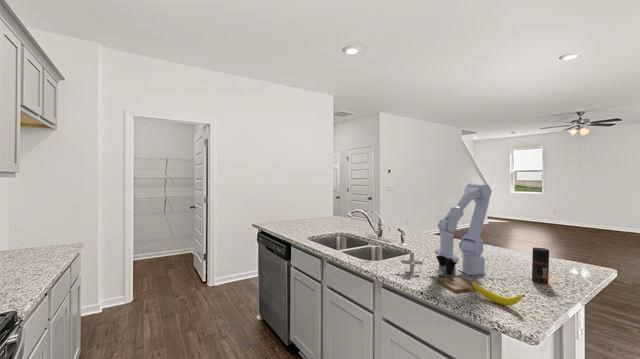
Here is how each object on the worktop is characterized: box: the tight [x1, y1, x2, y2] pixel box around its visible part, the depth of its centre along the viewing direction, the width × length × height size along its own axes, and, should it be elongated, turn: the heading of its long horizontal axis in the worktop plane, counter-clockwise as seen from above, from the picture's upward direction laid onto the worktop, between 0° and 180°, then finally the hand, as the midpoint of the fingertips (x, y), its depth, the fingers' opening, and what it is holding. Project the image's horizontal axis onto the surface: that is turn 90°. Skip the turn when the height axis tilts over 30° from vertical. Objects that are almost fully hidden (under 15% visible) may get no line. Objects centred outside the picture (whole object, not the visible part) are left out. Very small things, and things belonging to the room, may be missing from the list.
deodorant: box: [531, 246, 550, 286], centre depth 129 cm, size 6×6×15 cm
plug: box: [435, 265, 457, 279], centre depth 136 cm, size 9×4×4 cm, turn 102°
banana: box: [470, 281, 526, 307], centre depth 107 cm, size 3×19×6 cm, turn 32°
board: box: [436, 277, 478, 293], centre depth 123 cm, size 12×12×1 cm
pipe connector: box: [400, 251, 424, 274], centre depth 140 cm, size 10×10×10 cm
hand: (446, 272), depth 136 cm, fingers open, 4 cm apart
